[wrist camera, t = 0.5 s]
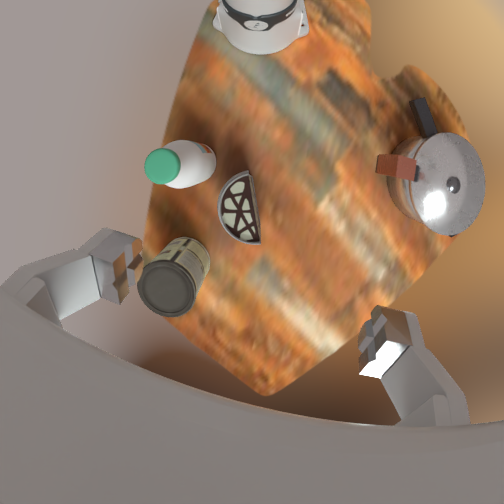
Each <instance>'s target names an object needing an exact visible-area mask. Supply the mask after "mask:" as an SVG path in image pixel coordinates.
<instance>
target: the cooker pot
mask: <svg viewBox="0 0 504 504" xmlns="http://www.w3.org/2000/svg"><path fill="white" fill-rule="evenodd" d="M409 104H410V106H411V109H412V111H413V114H414V116H415V119H416V122H417V124H418V127H419V130H420V133H421V136H414V137H410V138H407V139H405V140H404V141H402V142H401V143H400V144H399V145H398V146H397V147H396V148H395V149H394V151H393V153H392V155H401V156H405V157H408V158H412V159H413V157H414V154H415V152H416V151H417V149H418V147H419V146H420V145H421V144H422V142H424V141H425V140H426V139H427V138H428V137H430V136H432V135H434V134H438V132H437V129H436V126H435V124H434V121H433V118H432V115H431V112H430V110H429V107H428V105H427V102H426V100H425V97H424V98H420V99H416V100H413V101H409ZM387 186H388V190H389V193H390V196H391V198H392V200H393V202H394V204H395V205H396V207H397V208H398V209H399V210H400V211H401V212H402V213H403V214H405V215H406V216H408V217H410V218H412V219H414V220H416V221H418V222H420V223H422V222H421V220H420V219H419V218H418V216H417V214H416V212H415V210H414V208H413V205H412V202H411V198H410V193H409V180H406V179H401V178H396V177H392V176H387ZM422 224H423V223H422ZM458 234H459V233H458ZM455 235H457V234H455ZM455 235H448V236H450V237H453V236H455Z"/></svg>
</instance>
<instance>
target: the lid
mask: <svg viewBox="0 0 504 504" xmlns="http://www.w3.org/2000/svg"><path fill="white" fill-rule="evenodd" d="M376 173H379V174H383V175H387V176H392V177H396V178H401V179H406V180H409V193H410V198H411V202H412V205H413V208H414V210H415V212H416V214H417V216H418V218H419V219H420V220H421V222H422V223H423V224H424V225H425V226H426V227H428V228H429V229H431V230H432V231H434V232H436V233H438V234H442V235H455V234H458V233H461V232H462V231H464V230H466V229H467V228H468V227H469V226H470V225H471V224H472V223H473V222H474V220H475V219H476V217H477V215H478V214H479V212H480V209H481V207H482V204H483V200H484V194H485V176H484V170H483V166H482V163H481V160H480V158H479V156H478V154H477V152H476V150H475V149H474V148H473V146H472V145H471V144H470V143H469V142H468V141H467V140H466V139H464V138H463V137H461V136H459V135H457V134H454V133H438V134H434V135H432V136H430V137H428V138H427V139H426V140H425V141H424V142H422V144H421V145H420V146H419V147H418V149H417V151H416V152H415V154H414V157H413V159H412V158H408V157H405V156H401V155H384V154H379V155H378V157H377V165H376Z"/></svg>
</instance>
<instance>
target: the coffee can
mask: <svg viewBox="0 0 504 504" xmlns="http://www.w3.org/2000/svg"><path fill="white" fill-rule="evenodd" d="M209 267H210V258H209V254H208V252H207V250H206V248H205V247H204V246H203V245H202V244H201V243H200V242H198V241H197V240H195V239H193V238H189V237H180V238H176V239H174V240H172V241H171V242H170V243H169V244H168V245H167V246H166V247H165V248H164V249H163V250H162V251H161V252H160V253H159V254H158V255H157V256H156V257H155V258H154V259H153V260H152V261H151V262H150V263H149V264H147V265H146V266H145V267H144V268H143V272H142V274H141V277H140V279H139V281H138V282H137V288H138V292H139V295H140V297H141V299H142V301H143V302H144V304H145V305H146V306H147V307H148V308H149V309H150V310H152V311H153V312H155V313H157V314H159V315H161V316H165V317H178V316H181V315H184V314H185V313H187V312H188V311H189V310H190V309H191V308H192V306H193V305H194V302H195V299H196V296H197V294H198V292H199V289H200V287H201V285H202V283H203V281H204V278H205V276H206V274H207V273H208V270H209Z"/></svg>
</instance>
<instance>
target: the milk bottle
mask: <svg viewBox="0 0 504 504" xmlns="http://www.w3.org/2000/svg"><path fill="white" fill-rule="evenodd" d="M144 168H145V173H146V175H147V177H148V178H149V179H150V180H151V181H152V182H154V183H156V184H165V185H167V186H169V187H172V188H187V187H190V186H193V185H196V184H198V183H201V182H203V181H205V180H207V179H208V178H209V177H211V175H212V174H213V173H214V171H215V168H216V157H215V154H214V152H213V151H212V149H211V148H210V147H208V146H207V145H205V144H202V143H198V142H194V141H188V140H177V141H173V142H170V143H168V144H167V145H165V146H164V147H163V148H159V149H156V150H154V151H152V152H151V153H150V154H149V155H148V157H147V158H146V161H145V167H144Z"/></svg>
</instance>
